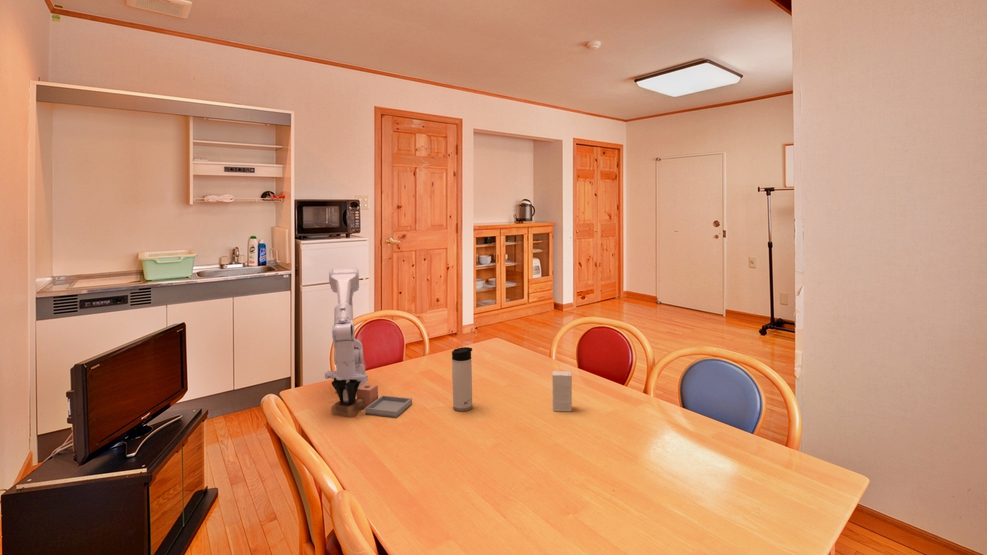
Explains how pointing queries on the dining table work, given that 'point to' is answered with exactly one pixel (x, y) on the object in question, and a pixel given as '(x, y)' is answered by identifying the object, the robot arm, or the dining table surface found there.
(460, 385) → the travel mug
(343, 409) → the brown square frame
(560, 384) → the skincare box
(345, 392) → the cylinder
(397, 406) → the tray
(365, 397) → the block
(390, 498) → the dining table surface
